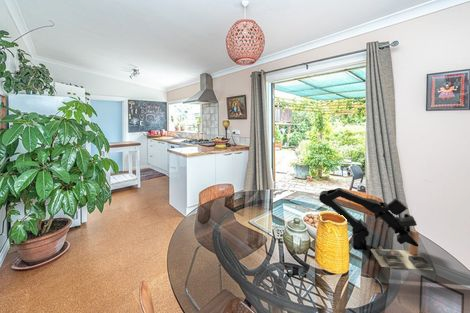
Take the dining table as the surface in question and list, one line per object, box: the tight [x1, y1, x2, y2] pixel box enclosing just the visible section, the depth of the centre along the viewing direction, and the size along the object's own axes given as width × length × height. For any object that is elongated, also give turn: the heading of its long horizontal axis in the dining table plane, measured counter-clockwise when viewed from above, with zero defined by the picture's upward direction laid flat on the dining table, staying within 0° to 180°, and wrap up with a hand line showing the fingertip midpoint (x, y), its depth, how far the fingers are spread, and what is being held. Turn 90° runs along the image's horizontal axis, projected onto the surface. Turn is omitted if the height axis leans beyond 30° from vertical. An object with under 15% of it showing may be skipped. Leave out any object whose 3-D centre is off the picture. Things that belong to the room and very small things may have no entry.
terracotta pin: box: [408, 229, 419, 256], centre depth 105 cm, size 4×4×12 cm
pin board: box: [369, 248, 434, 271], centre depth 104 cm, size 21×14×3 cm
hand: (417, 244), depth 105 cm, fingers closed on terracotta pin, 3 cm apart
